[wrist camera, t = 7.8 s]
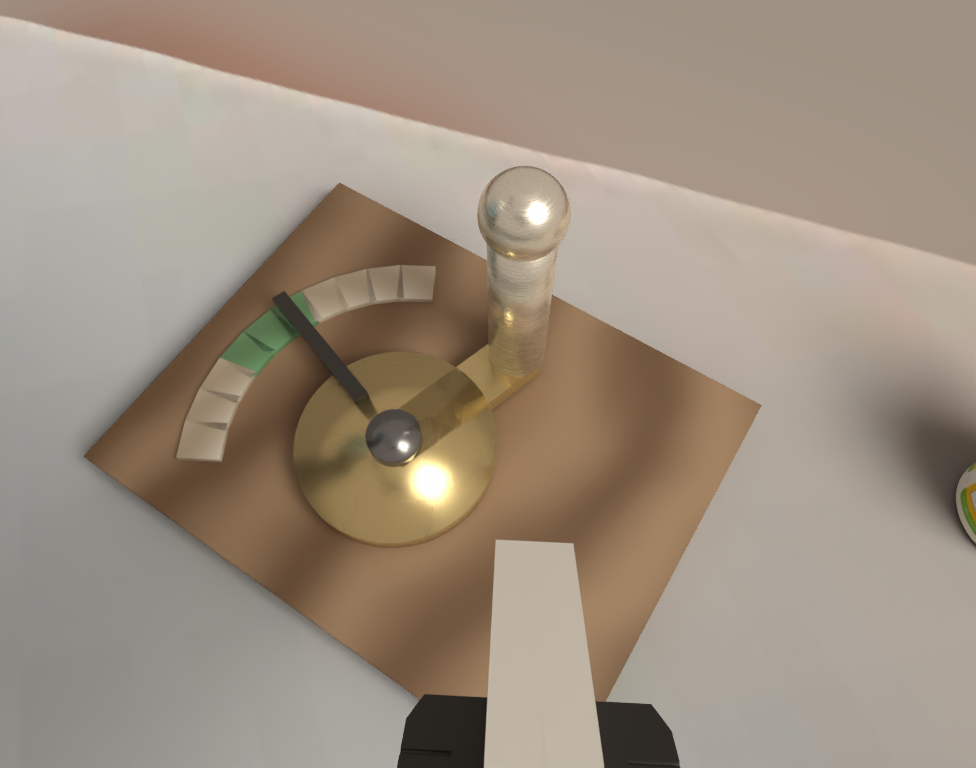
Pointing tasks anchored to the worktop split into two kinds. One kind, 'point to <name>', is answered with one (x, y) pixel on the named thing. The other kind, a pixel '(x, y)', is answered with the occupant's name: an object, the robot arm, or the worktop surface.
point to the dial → (433, 389)
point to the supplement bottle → (967, 501)
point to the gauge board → (518, 471)
